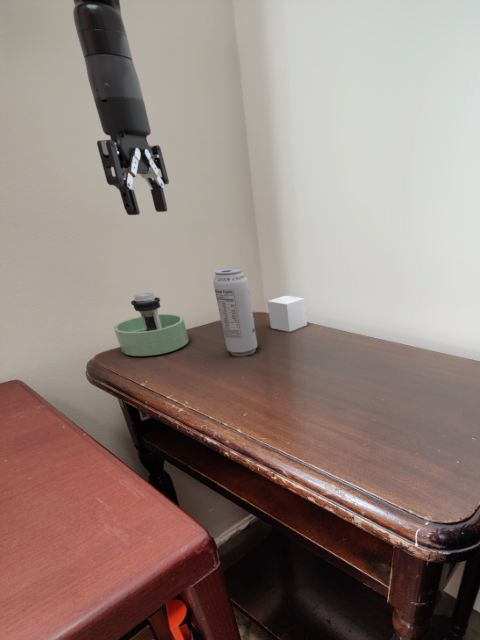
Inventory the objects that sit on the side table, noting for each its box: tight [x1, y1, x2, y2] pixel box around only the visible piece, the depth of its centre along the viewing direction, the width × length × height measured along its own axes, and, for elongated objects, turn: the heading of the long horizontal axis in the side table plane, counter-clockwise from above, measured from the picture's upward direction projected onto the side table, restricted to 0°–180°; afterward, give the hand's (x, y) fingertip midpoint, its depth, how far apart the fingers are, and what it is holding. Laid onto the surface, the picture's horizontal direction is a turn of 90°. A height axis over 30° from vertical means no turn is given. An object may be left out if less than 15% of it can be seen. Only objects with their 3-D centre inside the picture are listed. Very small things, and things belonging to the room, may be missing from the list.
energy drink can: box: [212, 267, 258, 357], centre depth 74 cm, size 6×6×15 cm
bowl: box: [113, 313, 190, 357], centre depth 82 cm, size 13×13×5 cm
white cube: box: [267, 295, 308, 333], centre depth 90 cm, size 6×6×6 cm
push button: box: [130, 292, 162, 331], centre depth 80 cm, size 7×5×10 cm
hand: (148, 213), depth 74 cm, fingers open, 8 cm apart
